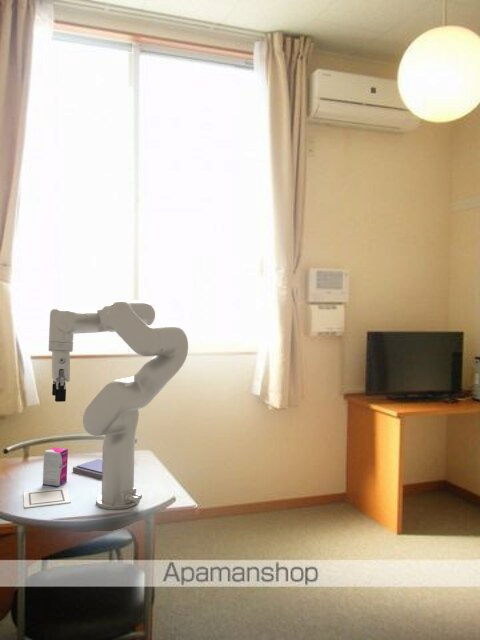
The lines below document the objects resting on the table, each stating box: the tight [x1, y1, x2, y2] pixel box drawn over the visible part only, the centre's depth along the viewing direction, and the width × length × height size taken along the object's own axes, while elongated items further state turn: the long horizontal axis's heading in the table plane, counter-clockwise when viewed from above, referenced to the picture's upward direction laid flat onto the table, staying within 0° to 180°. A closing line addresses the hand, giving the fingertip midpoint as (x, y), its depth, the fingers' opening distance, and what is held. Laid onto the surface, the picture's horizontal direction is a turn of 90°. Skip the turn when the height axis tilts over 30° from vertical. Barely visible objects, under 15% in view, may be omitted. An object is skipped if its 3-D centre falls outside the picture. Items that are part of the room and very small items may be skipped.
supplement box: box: [42, 446, 69, 488], centre depth 178 cm, size 6×6×12 cm
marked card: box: [23, 487, 71, 509], centre depth 166 cm, size 13×13×1 cm
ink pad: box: [72, 458, 102, 480], centre depth 193 cm, size 14×12×2 cm
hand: (58, 398), depth 177 cm, fingers open, 9 cm apart
